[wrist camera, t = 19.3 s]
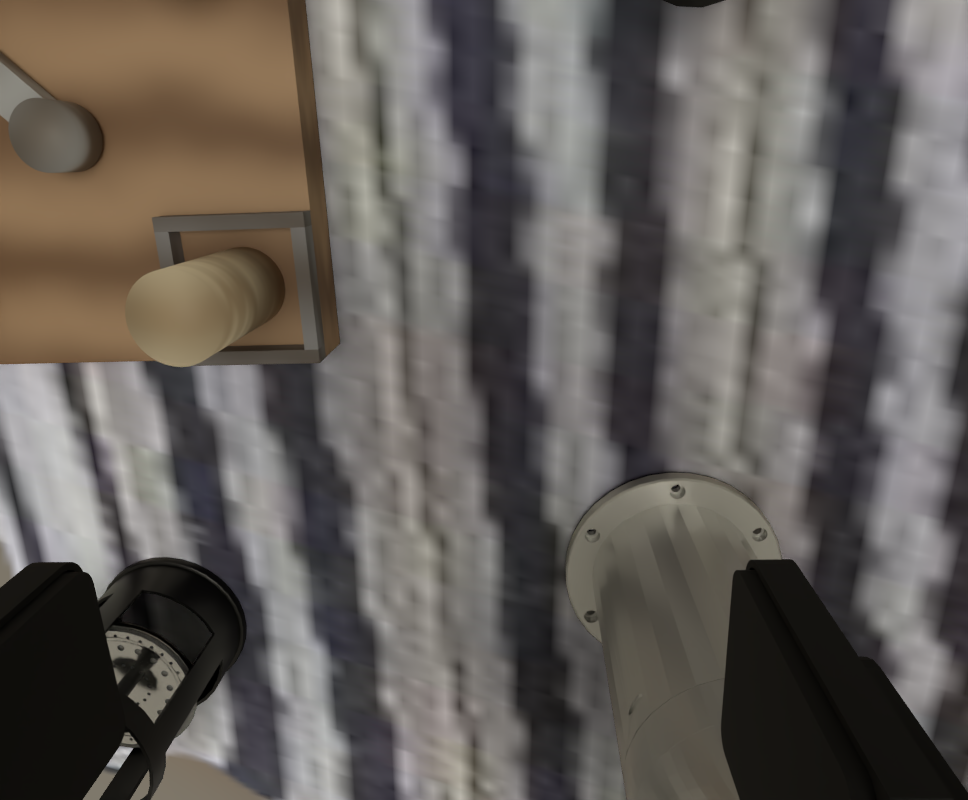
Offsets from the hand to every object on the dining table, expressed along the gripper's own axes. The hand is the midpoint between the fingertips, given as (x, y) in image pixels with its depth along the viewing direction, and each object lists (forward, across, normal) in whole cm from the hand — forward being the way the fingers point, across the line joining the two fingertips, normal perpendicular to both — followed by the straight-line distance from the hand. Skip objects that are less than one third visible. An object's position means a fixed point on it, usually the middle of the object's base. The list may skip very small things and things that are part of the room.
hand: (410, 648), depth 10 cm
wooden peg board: (+30, +20, -8) cm, 37 cm away
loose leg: (+27, +12, -1) cm, 30 cm away
